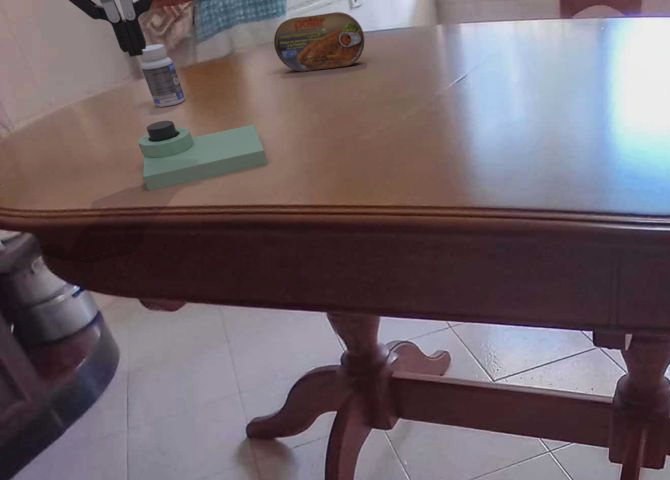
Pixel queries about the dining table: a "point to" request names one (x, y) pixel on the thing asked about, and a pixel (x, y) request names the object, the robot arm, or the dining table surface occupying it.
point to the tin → (319, 41)
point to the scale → (199, 156)
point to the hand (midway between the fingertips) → (136, 54)
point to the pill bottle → (161, 76)
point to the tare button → (161, 131)
